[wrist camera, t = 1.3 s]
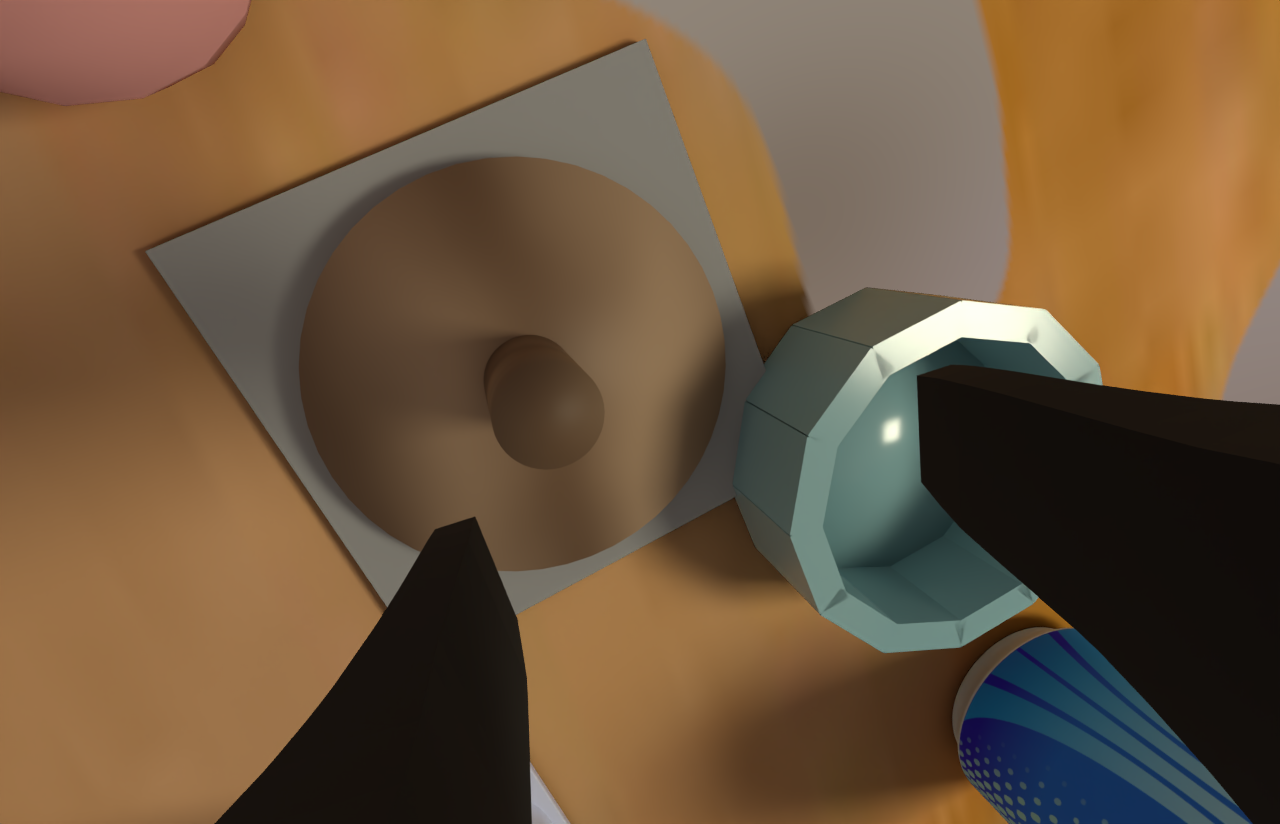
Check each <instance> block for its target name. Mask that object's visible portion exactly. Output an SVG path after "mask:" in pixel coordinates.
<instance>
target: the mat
mask: <svg viewBox="0 0 1280 824" xmlns="http://www.w3.org/2000/svg"><path fill="white" fill-rule="evenodd" d="M515 156H517V157H530V158H543V159H549V160H554V161H559V162H563V163H568V164H572V165H576V166H579V167H582V168H584V169H587V170H590V171H593V172H595V173H598V174H601V175H603V176H605V177H607V178H609V179H611V180H613V181H615V182H616V183H618V184H620V185H622V186H624V187H626V188H628V189H629V190H631V191H632V192H633V193H635V194H636V195H638V196H639V197H640V198H642V199H643V200H645V201H646V202H647V203H649V204H650V205H651V206H652V207H654V208H655V209H656V210H657V211H658V212H659V213H660V214H661V215H662V216H663V217H664V218H665V219H666V220H667V221H669V222H670V223H671V225H672V226H673V227H674V228H675V229H676V231H677V232H678V233H679V234H680V235H681V237H682V238H683V239H684V240H685V242H686V243H687V244H688V245H689V247H690V249H691V250H692V252H693V254H694V255H695V257H696V258H697V260H698V262H699V263H700V265H701V266H702V268H703V271H704V273H705V275H706V277H707V279H708V282H709V284H710V286H711V288H712V290H713V293H714V297H715V300H716V303H717V306H718V310H719V313H720V317H721V322H722V328H723V334H724V340H725V360H726V369H725V382H724V392H723V397H722V402H721V407H720V412H719V416H718V419H717V422H716V425H715V428H714V431H713V434H712V437H711V439H710V441H709V444H708V446H707V448H706V450H705V452H704V454H703V456H702V458H701V460H700V462H699V464H698V465H697V467H696V468H695V470H694V472H693V473H692V475H691V476H690V478H689V480H688V481H687V482H686V484H685V485H684V486H683V487H682V489H681V490H680V491H679V492H678V494H677V495H676V496H675V497H674V499H673V500H672V501H671V502H670V503H669V504H668V505H667V506H666V507H665V508H664V509H663V510H662V511H661V512H660V513H659V514H658V515H657V516H656V517H655V518H653V519H652V520H651V521H649V522H648V523H647V524H646V525H644V526H643V527H642V528H641V529H639V530H638V531H637V532H635V533H634V534H632V535H631V536H629V537H627V538H626V539H624V540H622V541H621V542H619V543H617V544H616V545H614V546H612V547H610V548H608V549H606V550H603V551H601V552H599V553H597V554H595V555H593V556H590V557H587V558H584V559H581V560H578V561H575V562H572V563H569V564H565V565H560V566H556V567H551V568H546V569H539V570H528V571H498V573H499V576H500V578H501V580H502V583H503V585H504V588H505V590H506V593H507V595H508V597H509V600H510V602H511V605H512V607H513V610H514V612H515V614H516V615H517V614H518V613H520V612H522V611H524V610H526V609H528V608H530V607H531V606H533V605H535V604H537V603H539V602H541V601H543V600H544V599H546V598H548V597H550V596H552V595H554V594H556V593H557V592H559V591H561V590H563V589H565V588H567V587H569V586H570V585H572V584H574V583H576V582H578V581H580V580H582V579H584V578H585V577H587V576H589V575H591V574H593V573H595V572H597V571H598V570H600V569H602V568H604V567H606V566H608V565H610V564H611V563H613V562H615V561H617V560H619V559H621V558H623V557H624V556H626V555H628V554H630V553H632V552H634V551H636V550H637V549H639V548H641V547H643V546H645V545H647V544H649V543H650V542H652V541H654V540H656V539H658V538H660V537H662V536H664V535H665V534H667V533H669V532H671V531H673V530H675V529H677V528H678V527H680V526H682V525H684V524H686V523H688V522H690V521H691V520H693V519H695V518H697V517H699V516H701V515H703V514H704V513H706V512H708V511H710V510H712V509H714V508H716V507H717V506H719V505H721V504H723V503H725V502H727V501H729V500H730V499H732V498H734V497H736V496H737V495H736V492H735V490H734V487H733V477H734V470H735V464H736V457H737V451H738V444H739V437H740V431H741V424H742V417H743V411H744V404H745V401H746V398H747V397H748V396H749V394H750V393H751V391H752V390H753V389H754V387H755V386H756V384H757V383H758V382H759V380H760V379H761V377H762V376H763V375H764V373H765V372H766V369H765V366H764V364H763V361H762V358H761V355H760V353H759V350H758V347H757V344H756V342H755V339H754V336H753V333H752V331H751V328H750V325H749V322H748V320H747V317H746V314H745V311H744V309H743V306H742V303H741V300H740V297H739V295H738V292H737V289H736V286H735V284H734V281H733V278H732V275H731V273H730V270H729V267H728V264H727V262H726V259H725V256H724V253H723V251H722V248H721V245H720V242H719V240H718V237H717V234H716V231H715V229H714V226H713V223H712V220H711V218H710V215H709V212H708V209H707V207H706V204H705V201H704V198H703V196H702V193H701V190H700V187H699V184H698V182H697V179H696V176H695V173H694V171H693V168H692V165H691V162H690V160H689V157H688V154H687V151H686V149H685V146H684V143H683V140H682V138H681V135H680V132H679V129H678V127H677V124H676V121H675V118H674V116H673V113H672V110H671V107H670V105H669V102H668V99H667V96H666V94H665V91H664V88H663V85H662V83H661V80H660V77H659V74H658V71H657V69H656V66H655V63H654V60H653V58H652V55H651V52H650V49H649V47H648V44H647V41H646V39H644V40H641V41H639V42H637V43H634V44H632V45H630V46H627V47H625V48H623V49H620V50H618V51H615V52H613V53H611V54H608V55H606V56H604V57H601V58H599V59H597V60H594V61H592V62H590V63H587V64H585V65H583V66H580V67H578V68H575V69H573V70H571V71H568V72H566V73H564V74H561V75H559V76H557V77H554V78H552V79H550V80H547V81H545V82H542V83H540V84H538V85H535V86H533V87H531V88H528V89H526V90H524V91H521V92H519V93H517V94H514V95H512V96H510V97H507V98H505V99H502V100H500V101H498V102H495V103H493V104H491V105H488V106H486V107H484V108H481V109H479V110H477V111H474V112H472V113H469V114H467V115H465V116H462V117H460V118H458V119H455V120H453V121H451V122H448V123H446V124H444V125H441V126H439V127H437V128H434V129H432V130H429V131H427V132H425V133H422V134H420V135H418V136H415V137H413V138H411V139H408V140H406V141H404V142H401V143H399V144H396V145H394V146H392V147H389V148H387V149H385V150H382V151H380V152H378V153H375V154H373V155H371V156H368V157H366V158H364V159H361V160H359V161H356V162H354V163H352V164H349V165H347V166H345V167H342V168H340V169H338V170H335V171H333V172H331V173H328V174H326V175H323V176H321V177H319V178H316V179H314V180H312V181H309V182H307V183H305V184H302V185H300V186H298V187H295V188H293V189H291V190H288V191H286V192H283V193H281V194H279V195H276V196H274V197H272V198H269V199H267V200H265V201H262V202H260V203H258V204H255V205H253V206H250V207H248V208H246V209H243V210H241V211H239V212H236V213H234V214H232V215H229V216H227V217H225V218H222V219H220V220H218V221H215V222H213V223H210V224H208V225H206V226H203V227H201V228H199V229H196V230H194V231H192V232H189V233H187V234H185V235H182V236H180V237H177V238H175V239H173V240H170V241H168V242H166V243H163V244H161V245H159V246H156V247H154V248H152V249H149V250H147V251H145V252H146V253H147V255H148V256H149V258H150V259H151V261H152V262H153V264H154V265H155V267H156V268H157V270H158V271H159V272H160V274H161V275H162V277H163V278H164V280H165V281H166V283H167V284H168V286H169V287H170V289H171V290H172V292H173V293H174V295H175V296H176V297H177V299H178V300H179V302H180V303H181V305H182V306H183V308H184V309H185V311H186V312H187V314H188V315H189V317H190V318H191V320H192V321H193V322H194V324H195V325H196V327H197V328H198V330H199V331H200V333H201V334H202V336H203V337H204V339H205V340H206V342H207V343H208V345H209V346H210V347H211V349H212V350H213V352H214V353H215V355H216V356H217V358H218V359H219V361H220V362H221V364H222V365H223V367H224V368H225V370H226V371H227V372H228V374H229V375H230V377H231V378H232V380H233V381H234V383H235V384H236V386H237V387H238V389H239V390H240V392H241V393H242V395H243V396H244V397H245V399H246V400H247V402H248V403H249V405H250V406H251V408H252V409H253V411H254V412H255V414H256V415H257V417H258V418H259V420H260V421H261V422H262V424H263V425H264V427H265V428H266V430H267V431H268V433H269V434H270V436H271V437H272V439H273V440H274V442H275V443H276V444H277V446H278V447H279V449H280V450H281V452H282V453H283V455H284V456H285V458H286V459H287V461H288V462H289V464H290V465H291V467H292V468H293V469H294V471H295V472H296V474H297V475H298V477H299V478H300V480H301V481H302V483H303V484H304V486H305V487H306V489H307V490H308V492H309V493H310V494H311V496H312V497H313V499H314V500H315V502H316V503H317V505H318V506H319V508H320V509H321V511H322V512H323V514H324V515H325V517H326V518H327V519H328V521H329V522H330V524H331V525H332V527H333V528H334V530H335V531H336V533H337V534H338V536H339V537H340V539H341V540H342V542H343V543H344V544H345V546H346V547H347V549H348V550H349V552H350V553H351V555H352V556H353V558H354V559H355V561H356V562H357V564H358V565H359V567H360V568H361V569H362V571H363V572H364V574H365V575H366V577H367V578H368V580H369V581H370V583H371V584H372V586H373V587H374V589H375V590H376V592H377V593H378V594H379V596H380V597H381V599H382V600H383V602H384V603H385V605H386V606H387V607H388V605H389V604H390V602H391V600H392V599H393V597H394V596H395V594H396V592H397V591H398V589H399V588H400V586H401V584H402V583H403V581H404V579H405V578H406V576H407V574H408V573H409V571H410V569H411V568H412V566H413V564H414V563H415V561H416V559H417V558H418V556H419V554H420V551H417V550H415V549H413V548H411V547H409V546H408V545H406V544H404V543H402V542H401V541H399V540H397V539H396V538H394V537H392V536H390V535H389V534H388V533H386V532H385V531H384V530H383V529H381V528H380V527H379V526H377V525H376V524H375V523H373V522H372V521H371V520H369V519H368V518H367V517H366V516H365V515H364V514H363V513H362V512H361V511H360V510H359V509H358V508H357V507H356V506H355V505H354V504H353V503H352V502H351V501H350V500H349V499H348V497H347V496H346V495H345V493H344V492H343V491H342V489H341V488H340V487H339V486H338V484H337V483H336V482H335V480H334V479H333V478H332V476H331V474H330V473H329V471H328V469H327V467H326V465H325V464H324V462H323V460H322V458H321V457H320V455H319V453H318V451H317V448H316V446H315V443H314V441H313V438H312V435H311V433H310V430H309V428H308V425H307V421H306V416H305V412H304V408H303V403H302V399H301V391H300V379H299V353H300V338H301V333H302V329H303V324H304V319H305V315H306V310H307V307H308V304H309V301H310V299H311V296H312V293H313V291H314V288H315V285H316V283H317V280H318V278H319V277H320V275H321V273H322V271H323V269H324V268H325V266H326V264H327V262H328V260H329V259H330V257H331V255H332V253H333V252H334V251H335V249H336V248H337V247H338V245H339V244H340V243H341V242H342V240H343V239H344V238H345V236H346V235H347V234H348V232H349V231H350V230H351V229H352V228H353V227H354V226H355V225H356V224H357V223H358V222H359V221H360V220H361V219H362V218H363V217H364V216H365V215H366V214H367V213H368V212H369V211H370V210H371V209H372V208H373V207H375V206H376V205H377V204H379V203H380V202H381V201H383V200H384V199H386V198H387V197H388V196H390V195H391V194H393V193H394V192H395V191H397V190H398V189H400V188H402V187H404V186H406V185H407V184H409V183H411V182H413V181H415V180H417V179H419V178H421V177H423V176H425V175H427V174H429V173H432V172H435V171H438V170H441V169H444V168H447V167H449V166H452V165H455V164H460V163H465V162H469V161H474V160H479V159H484V158H498V157H515Z"/></svg>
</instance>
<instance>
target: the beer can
mask: <svg viewBox="0 0 1280 824" xmlns="http://www.w3.org/2000/svg"><path fill="white" fill-rule="evenodd" d="M952 724H953V731H954V736H955V738H956V741H957V743H958V755H959V760H960V764H961V767H962V770H963V772H964V774H965V775H966V777H967V779H968V780H969V781H970V783H971V784H972V785H973V786H974V787H975V788H976V789H977V790H978V791H979V792H980V793H981V794H982V796H983V797H984V798H985V799H986V800H987V801H988V802H989V803H990V804H991V805H992V806H993V807H994V808H995V809H996V810H997V811H998V812H999V814H1000V815H1001V816H1002V817H1003V818H1004V819H1005V820H1006V821H1007V822H1008V823H1009V824H1253V823H1252V822H1251V821H1250V820H1249V819H1248V817H1247V816H1246V815H1245V814H1244V813H1243V811H1242V810H1241V809H1240V808H1239V807H1238V806H1237V804H1236V803H1235V802H1234V801H1233V800H1232V798H1231V797H1230V796H1229V795H1228V794H1227V792H1226V791H1225V790H1224V789H1223V788H1222V786H1221V785H1220V784H1219V783H1218V782H1217V780H1216V779H1215V778H1214V777H1213V776H1212V774H1211V773H1210V772H1209V771H1208V770H1207V769H1206V768H1205V766H1204V765H1203V764H1202V763H1201V762H1200V761H1199V760H1198V759H1197V757H1196V756H1195V755H1194V754H1193V753H1192V752H1191V751H1190V750H1189V748H1188V747H1187V746H1186V745H1185V744H1184V743H1183V742H1182V741H1181V740H1180V738H1179V737H1178V736H1177V735H1176V734H1175V733H1174V732H1173V731H1172V729H1171V728H1170V727H1169V726H1168V725H1167V724H1166V723H1165V722H1164V720H1163V719H1162V718H1161V717H1160V716H1159V715H1158V714H1157V713H1156V711H1155V710H1154V709H1153V708H1152V707H1151V706H1150V705H1149V704H1148V703H1147V702H1146V701H1145V700H1144V699H1143V698H1142V696H1141V695H1140V694H1139V693H1138V692H1137V691H1136V690H1135V689H1134V688H1133V687H1132V686H1131V685H1130V684H1129V683H1128V682H1127V681H1126V680H1125V678H1124V677H1123V676H1122V675H1121V674H1120V673H1119V672H1118V671H1117V670H1116V669H1115V668H1114V667H1113V666H1112V665H1111V664H1110V663H1109V662H1108V661H1107V659H1106V658H1105V657H1104V656H1103V655H1102V654H1101V653H1100V652H1099V651H1098V650H1097V649H1096V648H1095V647H1094V646H1093V645H1091V644H1090V643H1089V642H1088V641H1087V640H1086V639H1085V638H1084V637H1083V636H1082V635H1081V634H1080V633H1079V632H1078V631H1077V630H1076V629H1074V628H1059V629H1053V628H1047V627H1035V628H1028V629H1024V630H1021V631H1018V632H1015V633H1013V634H1011V635H1009V636H1007V637H1005V638H1003V639H1002V640H1000V641H998V642H997V643H996V644H994V645H993V646H992V647H990V648H989V649H988V650H987V651H986V652H985V653H984V654H983V655H982V656H981V657H980V658H979V659H978V660H977V661H976V662H975V663H974V665H973V666H972V667H971V669H970V670H969V672H968V673H967V675H966V676H965V678H964V680H963V682H962V683H961V686H960V688H959V690H958V693H957V695H956V699H955V702H954V707H953V714H952Z"/></svg>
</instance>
